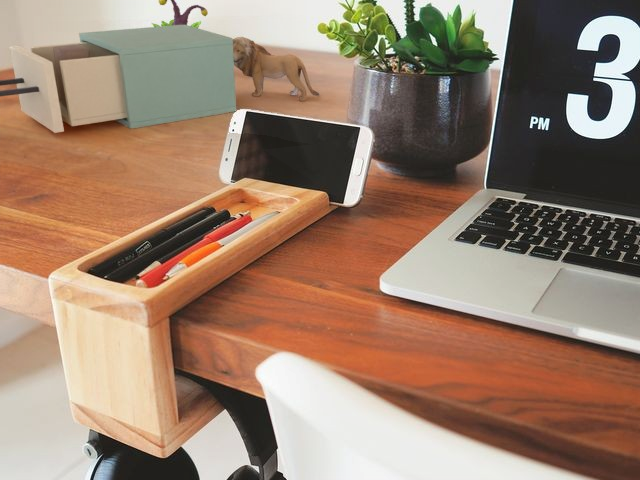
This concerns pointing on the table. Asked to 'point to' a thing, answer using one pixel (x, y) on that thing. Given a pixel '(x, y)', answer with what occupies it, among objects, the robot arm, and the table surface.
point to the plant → (181, 18)
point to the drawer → (68, 86)
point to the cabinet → (171, 72)
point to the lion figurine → (269, 66)
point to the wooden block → (67, 54)
